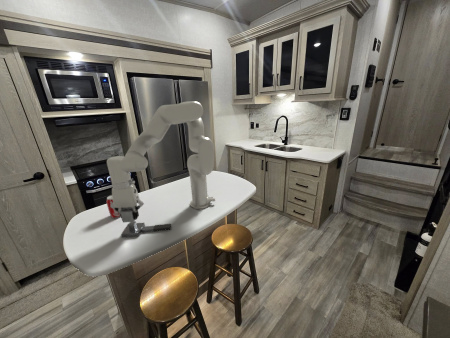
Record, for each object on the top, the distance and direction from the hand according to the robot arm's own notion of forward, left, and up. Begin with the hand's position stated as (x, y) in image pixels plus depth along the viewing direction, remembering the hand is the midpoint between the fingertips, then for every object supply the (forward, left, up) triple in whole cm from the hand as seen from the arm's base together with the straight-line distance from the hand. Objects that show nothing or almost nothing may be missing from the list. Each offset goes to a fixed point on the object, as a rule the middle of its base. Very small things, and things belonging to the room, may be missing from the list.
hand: (130, 218), depth 86 cm
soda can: (+15, -16, -8) cm, 23 cm away
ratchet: (-7, 0, -8) cm, 11 cm away
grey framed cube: (0, 0, 0) cm, 0 cm away
